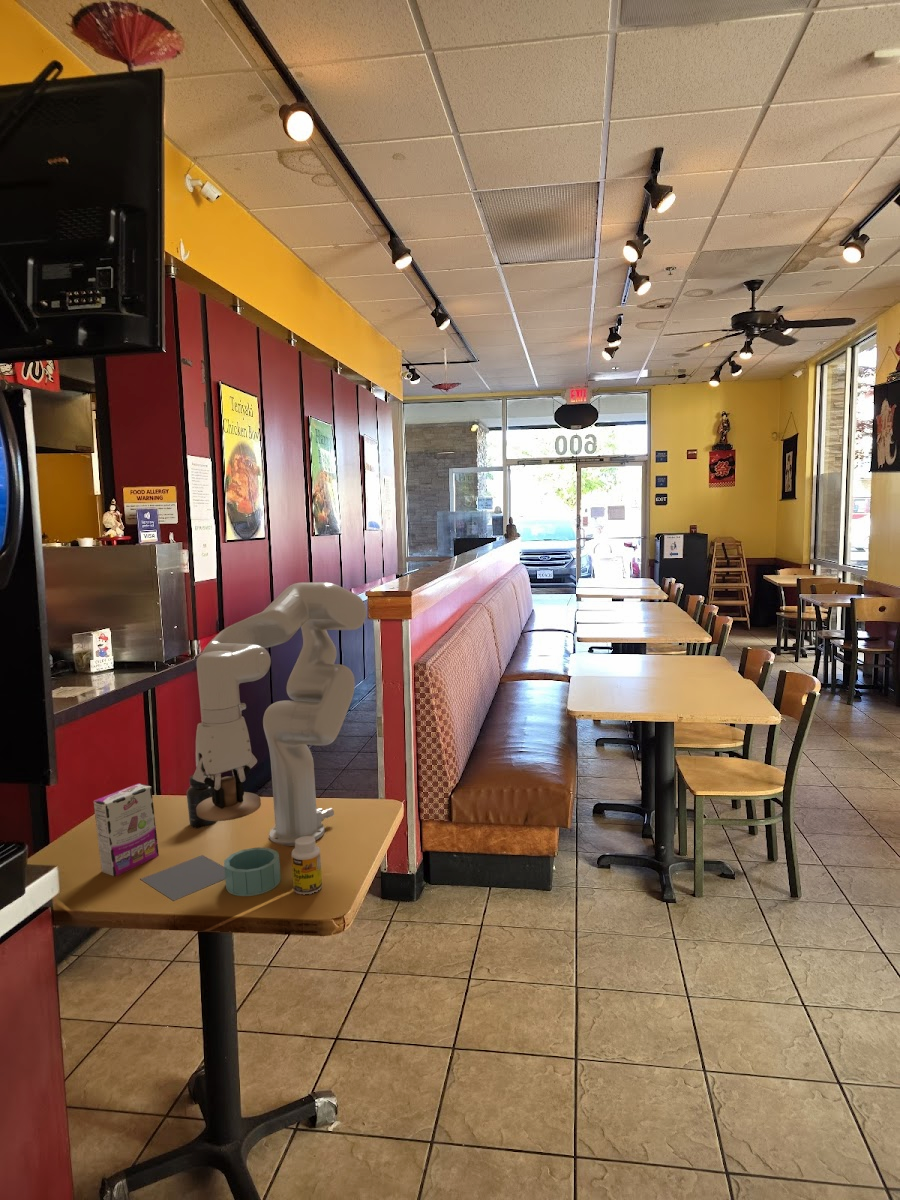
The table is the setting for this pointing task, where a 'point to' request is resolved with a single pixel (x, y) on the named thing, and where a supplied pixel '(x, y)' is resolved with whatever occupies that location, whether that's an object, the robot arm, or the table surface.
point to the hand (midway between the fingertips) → (228, 802)
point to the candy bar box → (126, 829)
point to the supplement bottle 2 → (306, 866)
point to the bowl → (252, 871)
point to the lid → (228, 804)
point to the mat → (186, 877)
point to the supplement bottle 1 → (197, 801)
